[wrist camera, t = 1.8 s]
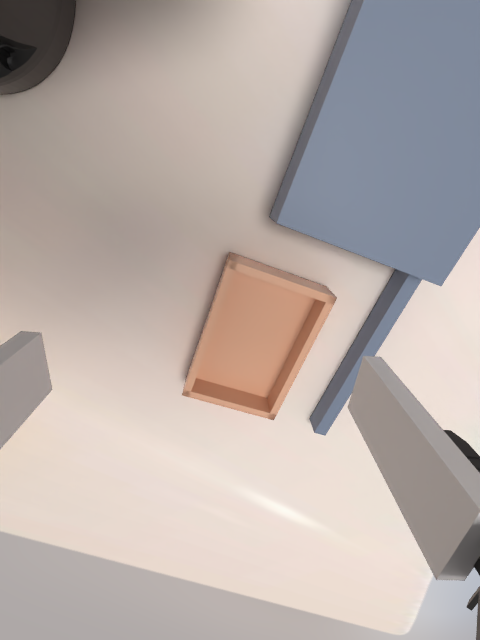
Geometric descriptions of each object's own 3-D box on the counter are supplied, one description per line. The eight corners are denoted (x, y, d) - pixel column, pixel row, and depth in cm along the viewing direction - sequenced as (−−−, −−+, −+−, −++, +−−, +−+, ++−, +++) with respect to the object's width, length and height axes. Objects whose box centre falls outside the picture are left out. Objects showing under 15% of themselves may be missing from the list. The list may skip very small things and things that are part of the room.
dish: (186, 376, 37) (181, 395, 34) (229, 251, 31) (229, 259, 28) (270, 400, 39) (273, 420, 35) (326, 286, 32) (337, 297, 29)
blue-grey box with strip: (203, 388, 38) (199, 419, 33) (359, -22, 23) (394, -77, 18) (319, 421, 40) (331, 453, 35) (528, 71, 25) (599, 44, 20)
